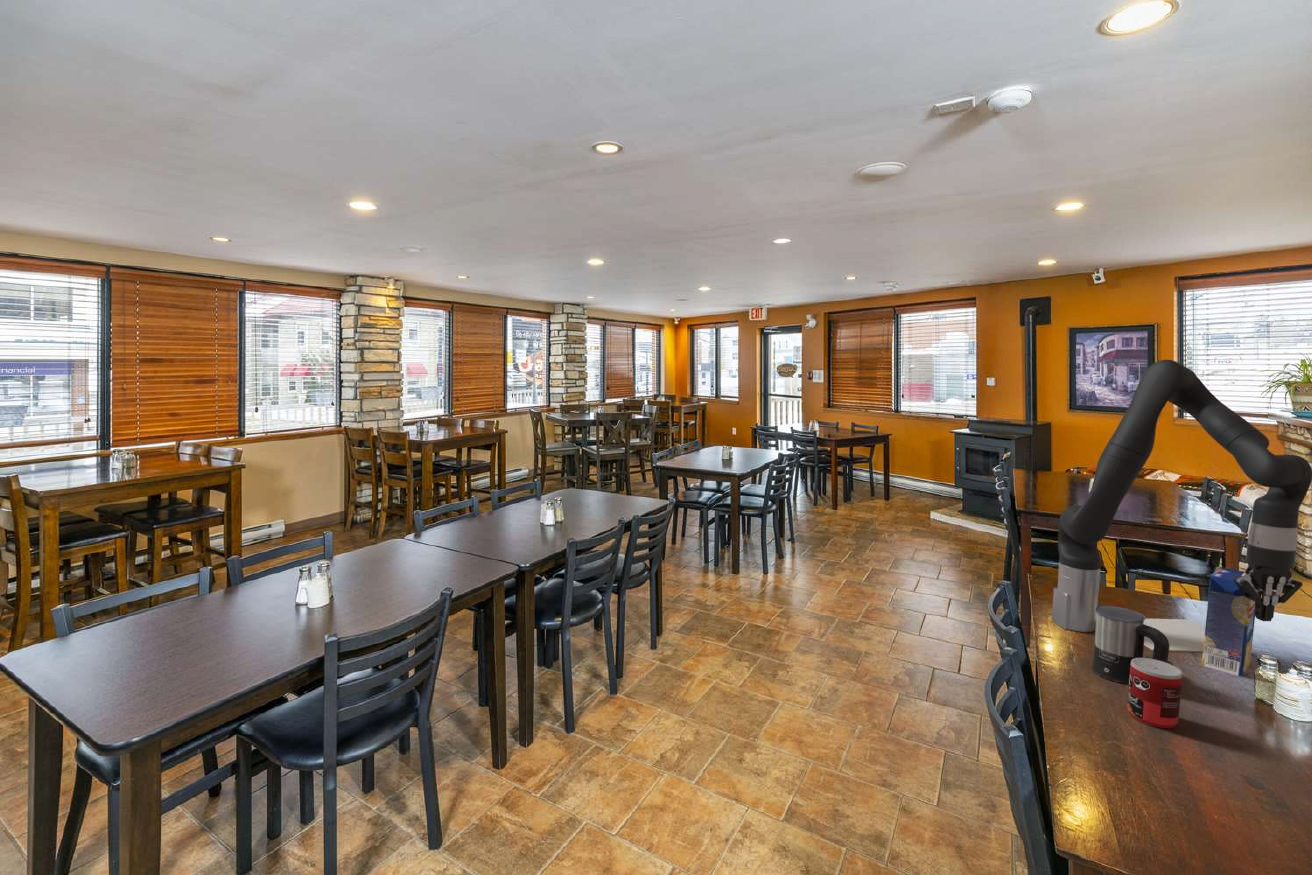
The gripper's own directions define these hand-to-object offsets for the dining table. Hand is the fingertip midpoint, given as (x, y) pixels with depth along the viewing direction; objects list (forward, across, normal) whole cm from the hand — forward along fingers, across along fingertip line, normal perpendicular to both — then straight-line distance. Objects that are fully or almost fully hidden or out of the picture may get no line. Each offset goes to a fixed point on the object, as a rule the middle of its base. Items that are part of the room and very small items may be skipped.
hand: (1263, 619), depth 134 cm
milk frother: (+15, -26, +2) cm, 30 cm away
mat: (+14, 0, +24) cm, 28 cm away
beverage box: (+15, 0, +8) cm, 17 cm away
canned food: (+15, -35, -17) cm, 41 cm away
